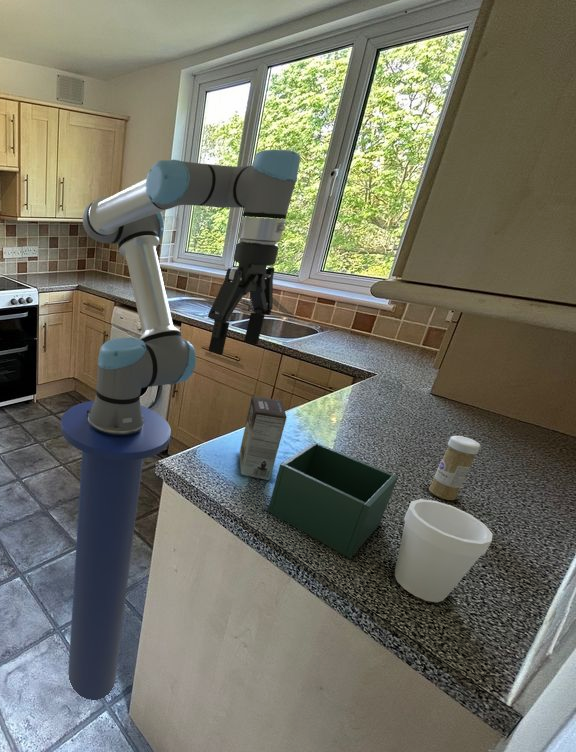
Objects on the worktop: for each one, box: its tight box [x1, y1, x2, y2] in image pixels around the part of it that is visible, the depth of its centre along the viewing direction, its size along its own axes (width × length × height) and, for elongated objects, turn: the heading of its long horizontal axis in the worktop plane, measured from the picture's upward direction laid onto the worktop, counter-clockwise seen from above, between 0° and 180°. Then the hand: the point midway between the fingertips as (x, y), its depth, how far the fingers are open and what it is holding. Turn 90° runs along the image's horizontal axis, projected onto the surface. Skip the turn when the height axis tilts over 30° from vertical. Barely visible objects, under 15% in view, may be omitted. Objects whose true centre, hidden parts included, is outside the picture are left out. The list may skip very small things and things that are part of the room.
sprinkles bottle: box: [428, 435, 481, 501], centre depth 85 cm, size 5×5×14 cm
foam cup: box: [394, 498, 493, 603], centre depth 63 cm, size 10×9×13 cm
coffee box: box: [238, 395, 287, 481], centre depth 92 cm, size 9×6×16 cm
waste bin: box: [267, 441, 399, 559], centre depth 77 cm, size 15×15×11 cm
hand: (233, 347), depth 85 cm, fingers open, 13 cm apart
